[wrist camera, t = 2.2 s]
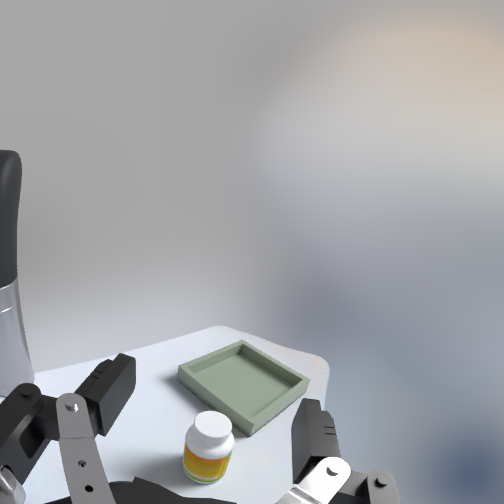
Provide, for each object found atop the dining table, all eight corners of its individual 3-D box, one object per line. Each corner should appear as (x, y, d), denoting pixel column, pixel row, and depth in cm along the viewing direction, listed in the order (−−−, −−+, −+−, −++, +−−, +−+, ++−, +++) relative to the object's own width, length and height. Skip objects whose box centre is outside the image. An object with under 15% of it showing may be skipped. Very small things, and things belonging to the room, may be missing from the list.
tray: (177, 379, 45) (178, 365, 44) (239, 351, 58) (242, 339, 57) (249, 437, 36) (253, 424, 35) (305, 391, 49) (310, 379, 48)
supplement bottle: (226, 486, 27) (241, 444, 24) (181, 482, 26) (185, 439, 24) (224, 454, 32) (237, 408, 30) (183, 450, 31) (188, 402, 29)
